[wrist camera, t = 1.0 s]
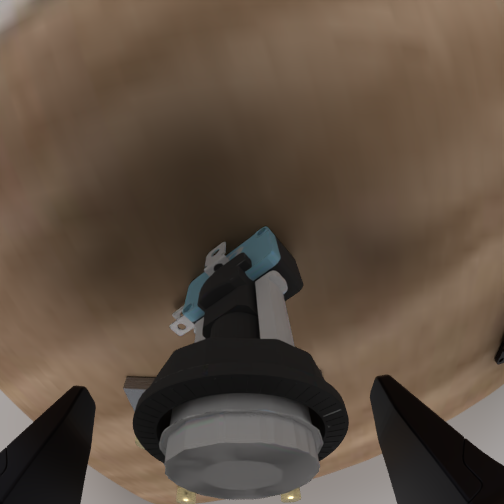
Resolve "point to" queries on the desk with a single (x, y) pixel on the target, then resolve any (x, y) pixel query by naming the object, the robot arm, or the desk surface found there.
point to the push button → (241, 384)
